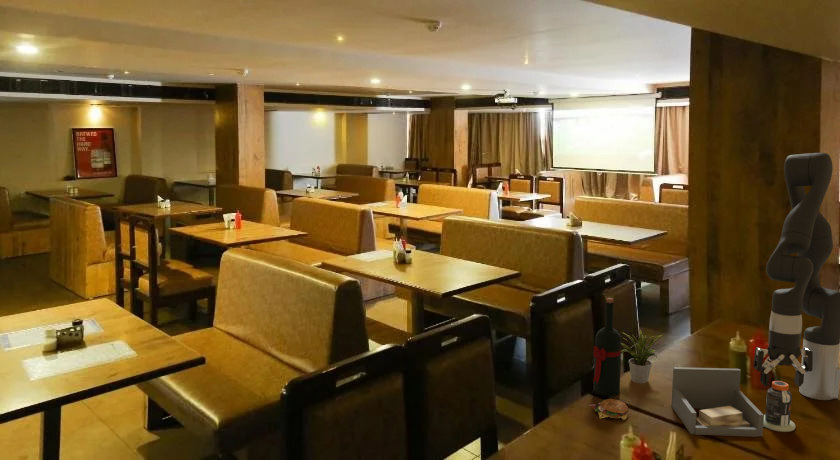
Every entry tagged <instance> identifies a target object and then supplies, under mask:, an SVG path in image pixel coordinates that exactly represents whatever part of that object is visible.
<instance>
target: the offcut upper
mask: <svg viewBox="0 0 840 460" xmlns="http://www.w3.org/2000/svg"><path fill="white" fill-rule="evenodd" d="M698 414H699V416H698V417H699V419H700V420H702V421H703V422H705V423H707V424H708V425H710V426H715V425H721V424H728V423H735V422H741V421H742V412H740V411H739V410H737V409H735V408H733V407H732V406H725V407H718V408H711V409H700V410H699V411H698Z"/></svg>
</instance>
